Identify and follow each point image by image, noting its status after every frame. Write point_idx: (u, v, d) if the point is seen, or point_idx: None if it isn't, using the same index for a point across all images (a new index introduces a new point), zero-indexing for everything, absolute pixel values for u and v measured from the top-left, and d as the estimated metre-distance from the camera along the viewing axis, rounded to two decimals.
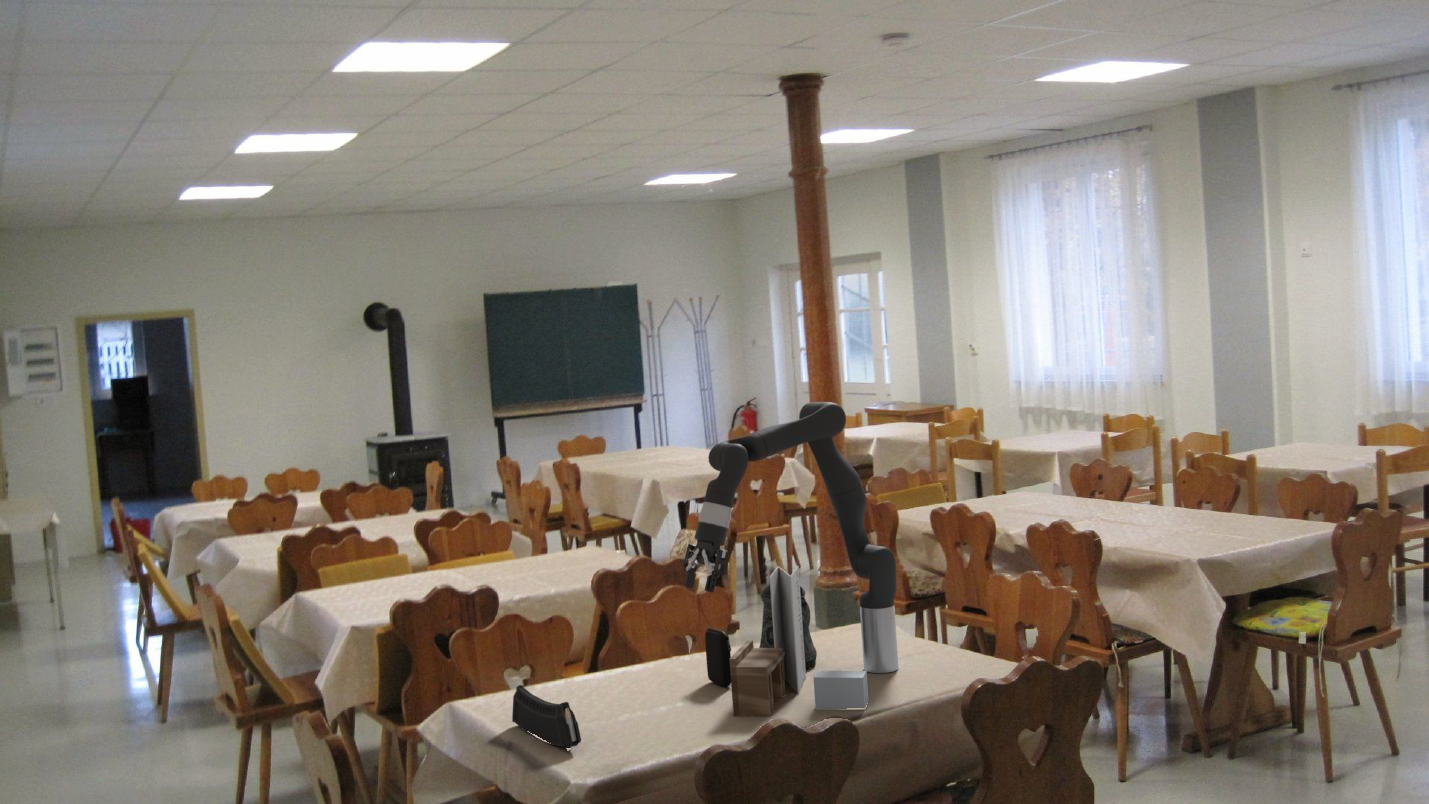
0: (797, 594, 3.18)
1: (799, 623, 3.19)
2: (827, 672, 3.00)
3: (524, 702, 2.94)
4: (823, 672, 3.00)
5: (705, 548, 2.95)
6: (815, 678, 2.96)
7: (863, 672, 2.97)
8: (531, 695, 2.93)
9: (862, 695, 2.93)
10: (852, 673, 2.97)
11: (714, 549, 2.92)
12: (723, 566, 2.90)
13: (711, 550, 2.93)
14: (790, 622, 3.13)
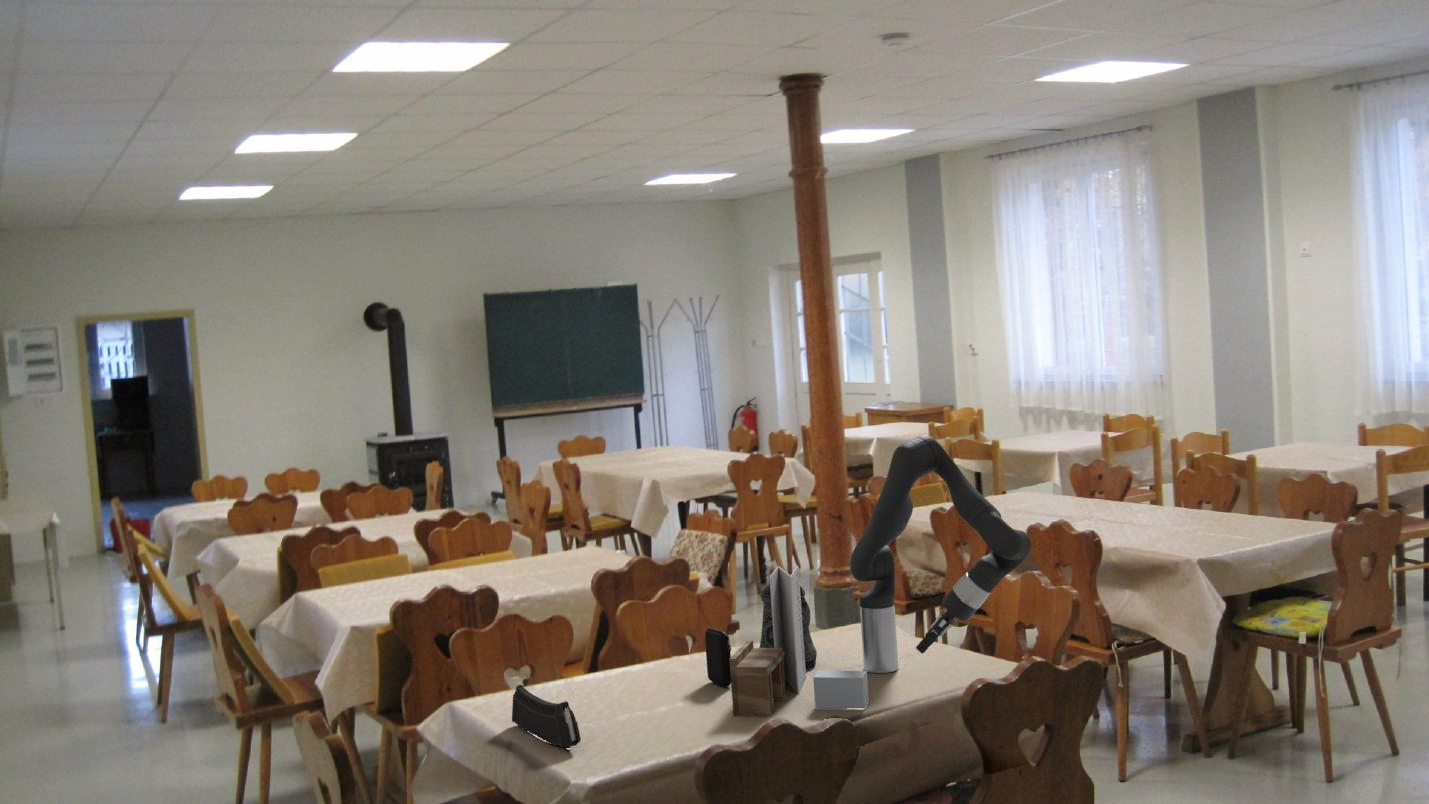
0: (797, 594, 3.18)
1: (799, 623, 3.19)
2: (827, 672, 3.00)
3: (524, 702, 2.94)
4: (823, 672, 3.00)
5: (953, 618, 2.88)
6: (815, 678, 2.96)
7: (863, 672, 2.97)
8: (531, 695, 2.93)
9: (862, 695, 2.93)
10: (852, 673, 2.97)
11: None
12: None
13: None
14: (790, 622, 3.13)
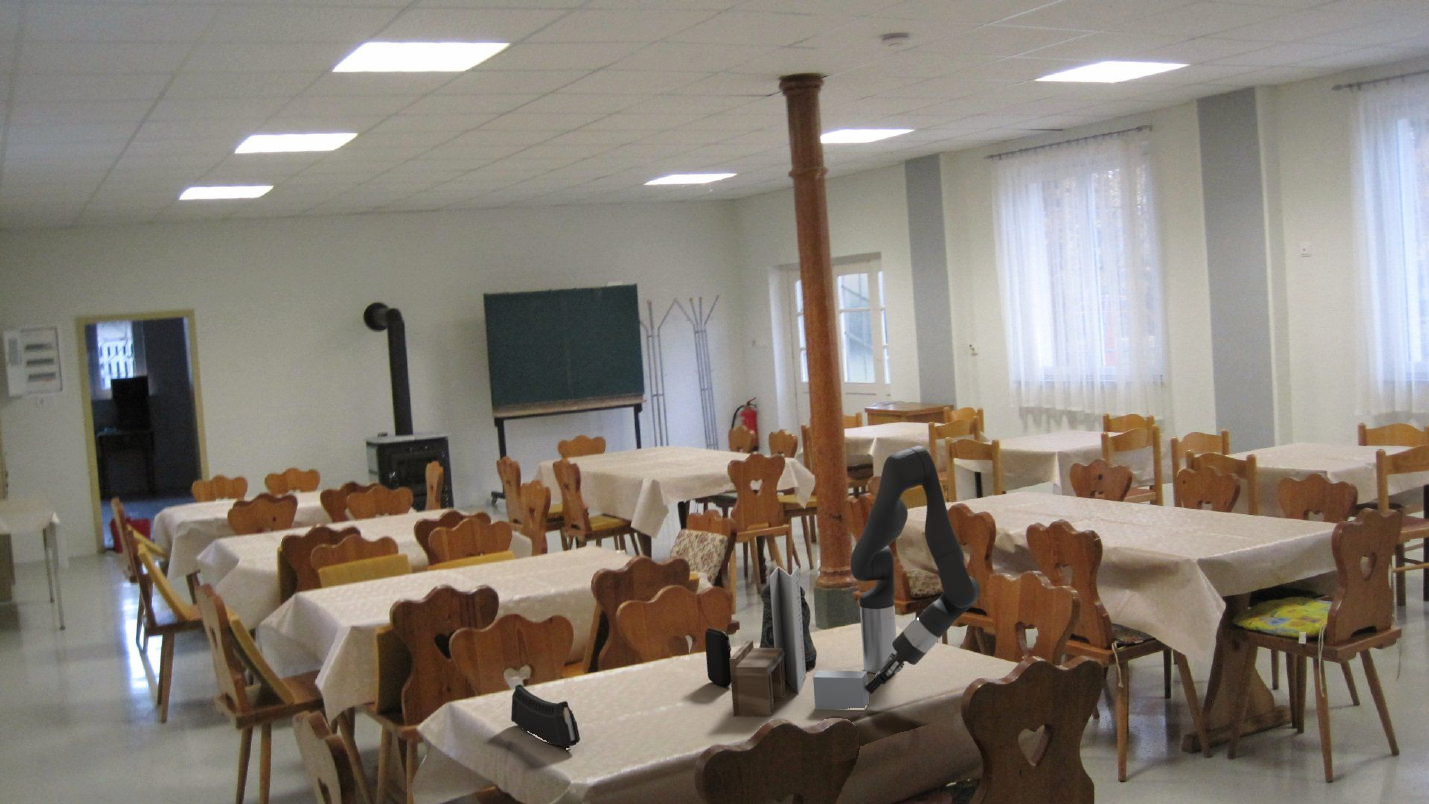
0: (797, 594, 3.18)
1: (799, 623, 3.19)
2: (827, 672, 3.00)
3: (523, 701, 2.94)
4: (823, 672, 3.00)
5: None
6: (815, 678, 2.96)
7: (863, 672, 2.97)
8: (530, 694, 2.94)
9: (861, 695, 2.93)
10: (852, 673, 2.97)
11: None
12: None
13: None
14: (790, 622, 3.13)
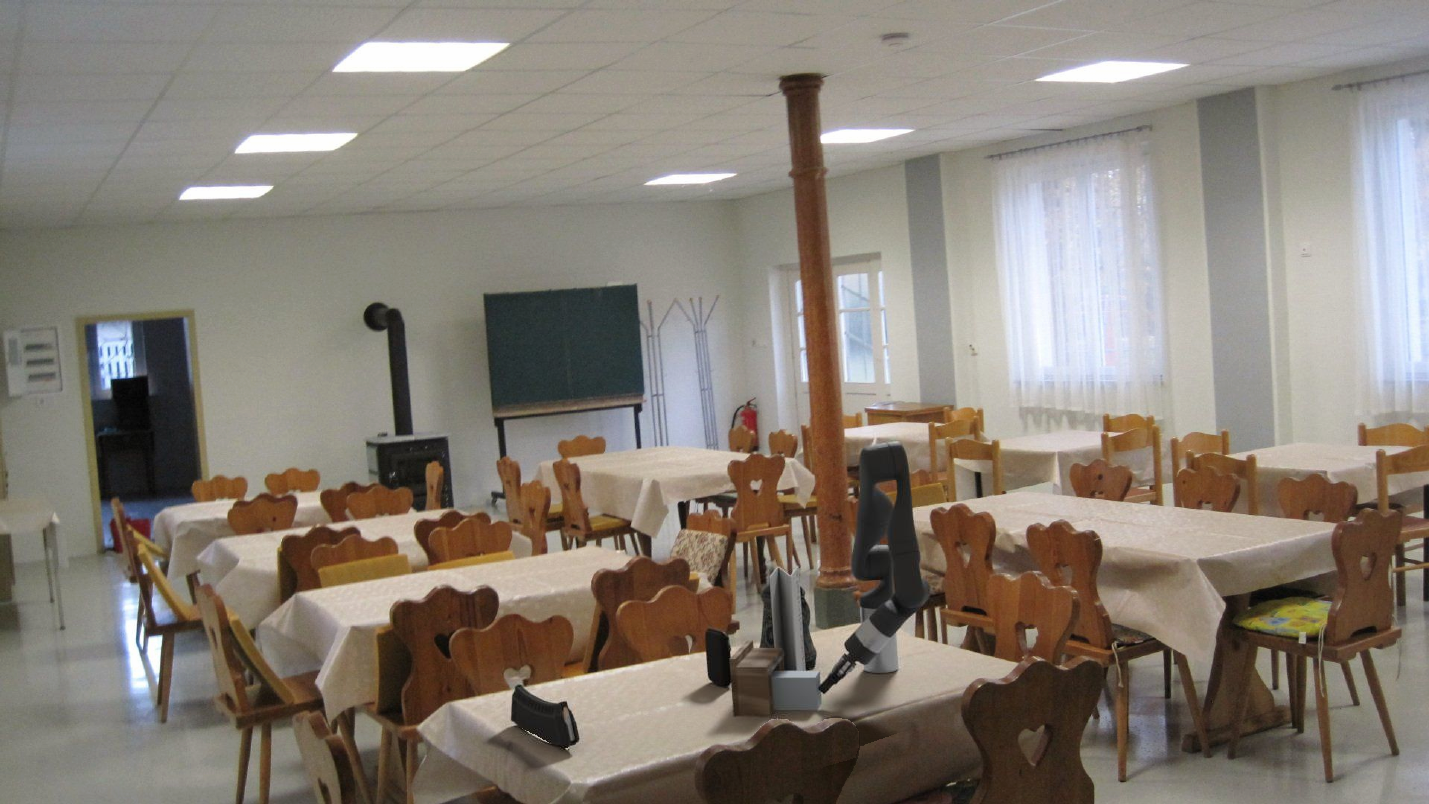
0: (797, 594, 3.18)
1: (799, 623, 3.19)
2: (780, 672, 3.02)
3: (523, 701, 2.94)
4: (777, 672, 3.02)
5: None
6: None
7: (816, 672, 3.00)
8: (530, 694, 2.94)
9: (815, 695, 2.96)
10: (805, 673, 3.00)
11: None
12: None
13: None
14: (790, 622, 3.13)
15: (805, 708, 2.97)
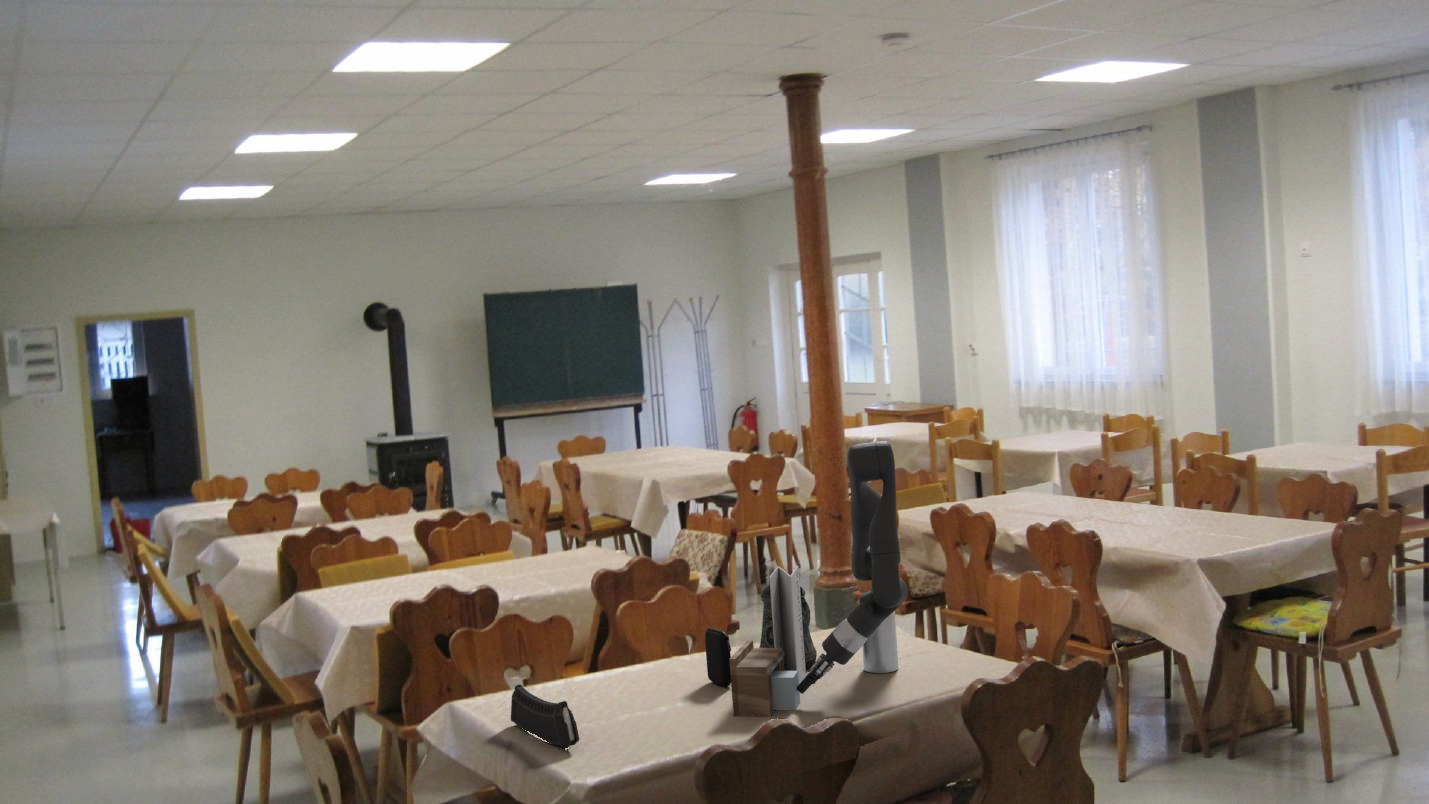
0: (797, 594, 3.18)
1: (799, 623, 3.19)
2: None
3: (522, 701, 2.94)
4: None
5: None
6: None
7: (794, 672, 3.01)
8: (529, 694, 2.94)
9: (793, 695, 2.97)
10: (784, 673, 3.01)
11: None
12: None
13: None
14: (790, 622, 3.13)
15: (783, 708, 2.98)
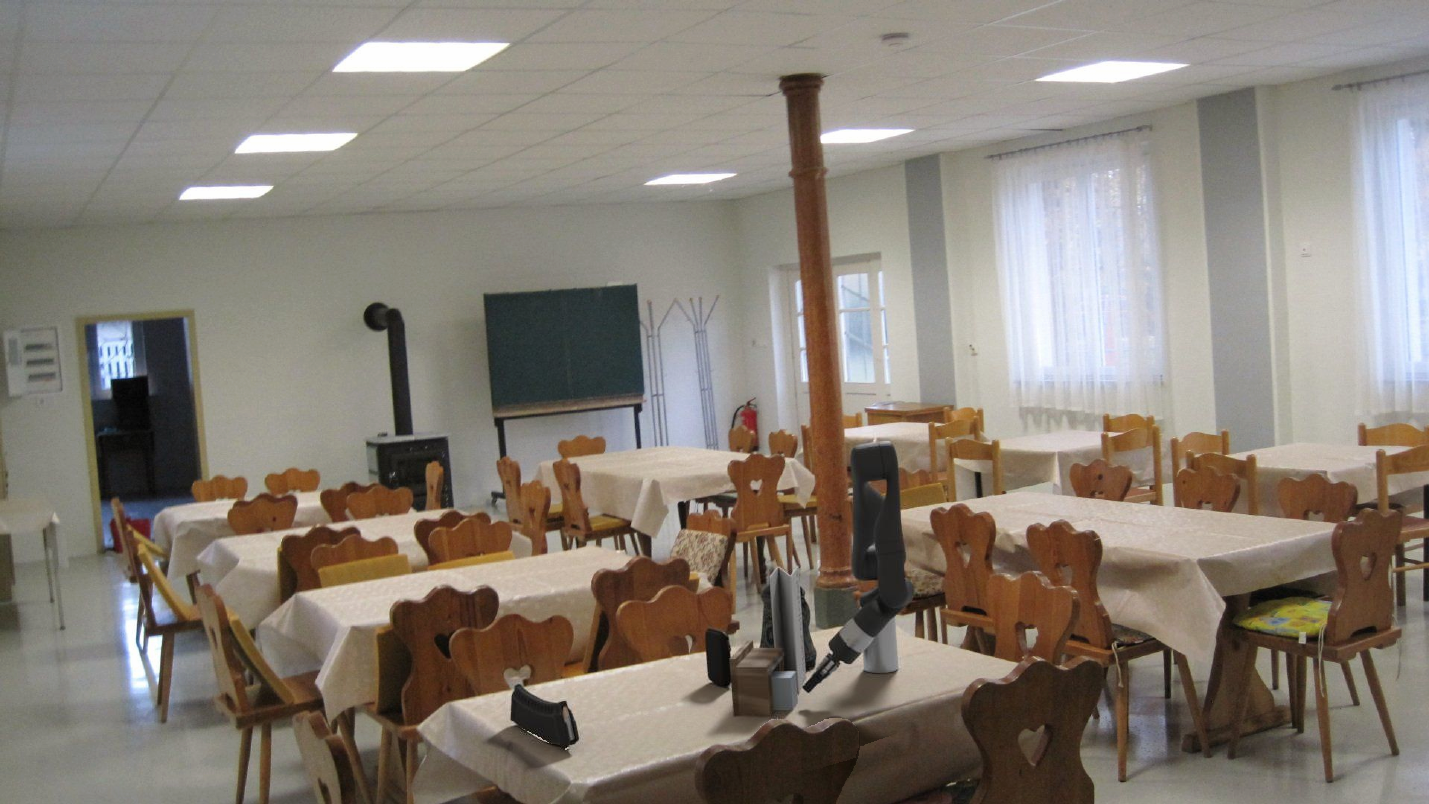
0: (797, 594, 3.18)
1: (799, 623, 3.19)
2: None
3: (522, 701, 2.95)
4: None
5: (838, 661, 2.98)
6: None
7: (792, 672, 3.02)
8: (529, 694, 2.94)
9: (790, 695, 2.97)
10: (781, 674, 3.01)
11: None
12: None
13: None
14: (790, 622, 3.13)
15: (780, 708, 2.98)
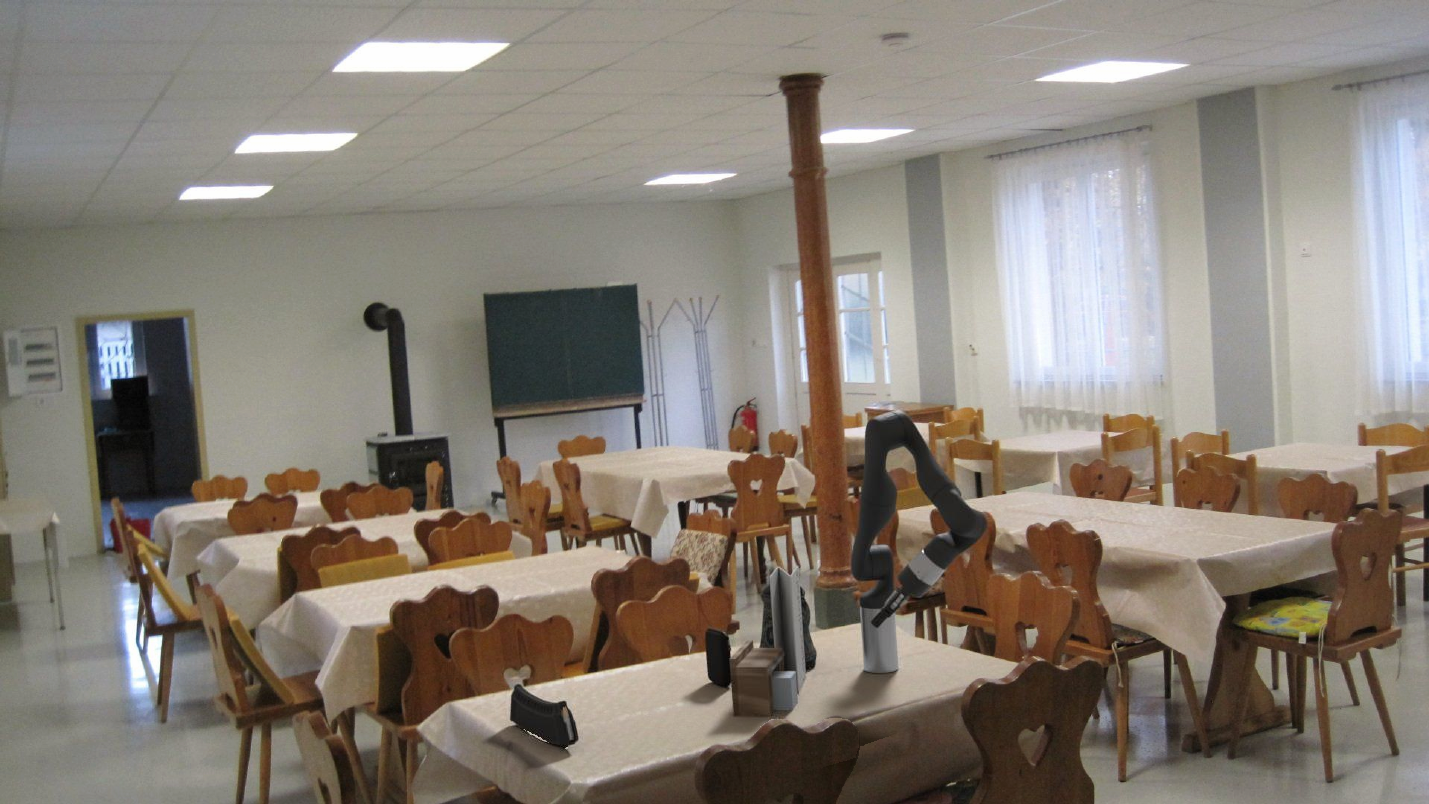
0: (797, 594, 3.18)
1: (799, 623, 3.19)
2: None
3: (522, 701, 2.95)
4: None
5: None
6: None
7: (792, 672, 3.02)
8: (529, 694, 2.94)
9: (790, 695, 2.97)
10: (781, 674, 3.01)
11: None
12: None
13: None
14: (790, 622, 3.13)
15: (780, 708, 2.98)
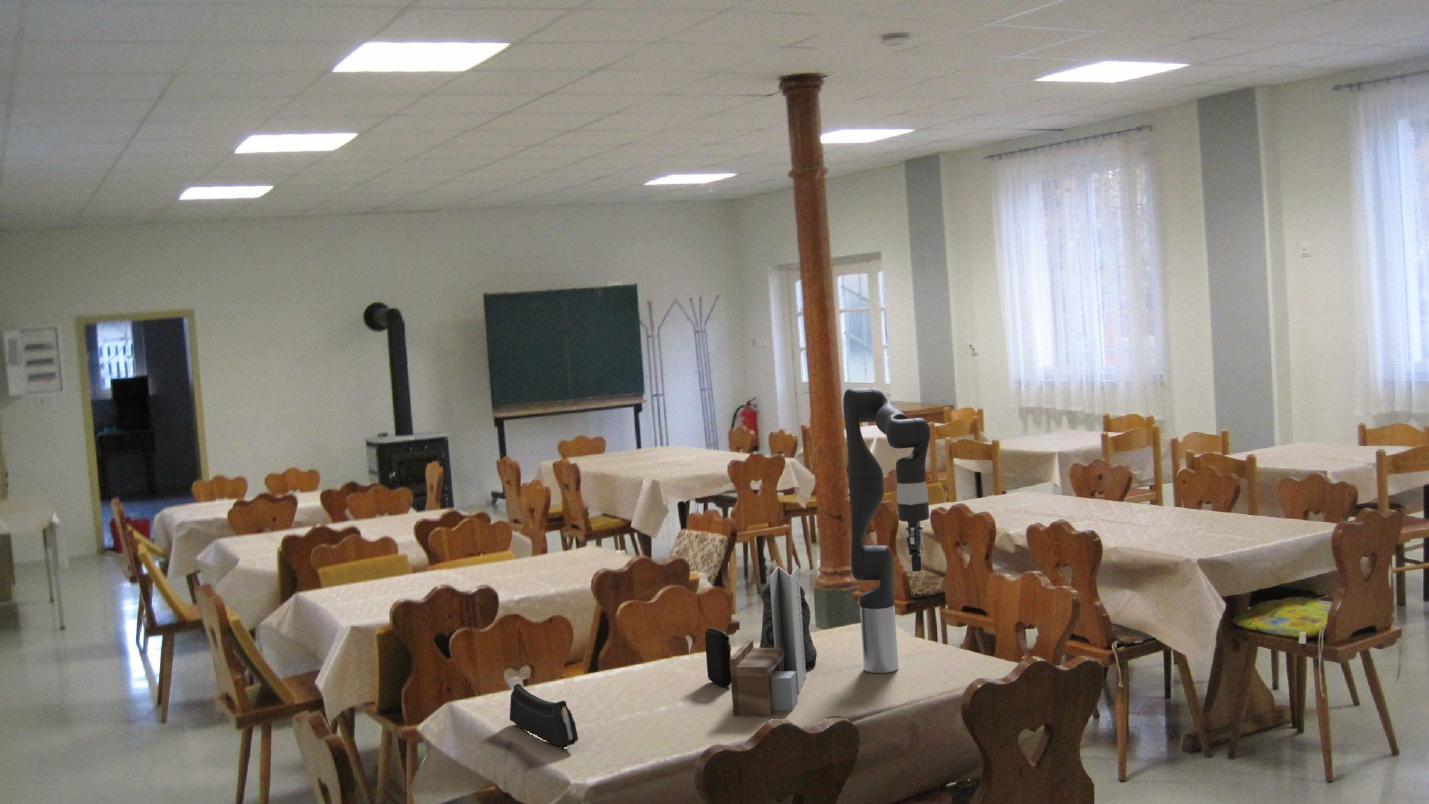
0: (797, 594, 3.18)
1: (799, 623, 3.19)
2: None
3: (521, 701, 2.95)
4: None
5: (919, 525, 3.00)
6: None
7: (792, 672, 3.01)
8: (528, 694, 2.94)
9: (790, 695, 2.97)
10: (781, 674, 3.01)
11: None
12: None
13: None
14: (790, 622, 3.13)
15: (780, 708, 2.98)
